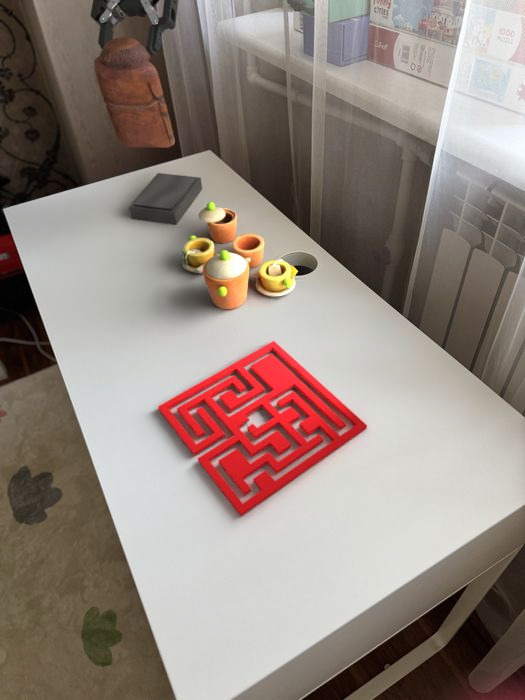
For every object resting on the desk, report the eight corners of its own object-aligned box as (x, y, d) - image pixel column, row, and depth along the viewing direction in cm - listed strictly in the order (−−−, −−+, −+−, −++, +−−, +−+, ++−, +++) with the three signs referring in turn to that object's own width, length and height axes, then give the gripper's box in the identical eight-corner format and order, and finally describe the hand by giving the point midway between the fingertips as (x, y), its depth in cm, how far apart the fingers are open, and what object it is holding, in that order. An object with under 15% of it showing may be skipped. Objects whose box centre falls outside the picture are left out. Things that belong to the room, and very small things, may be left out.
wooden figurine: (182, 129, 100) (158, 28, 86) (174, 150, 97) (148, 49, 82) (123, 129, 102) (89, 30, 87) (113, 149, 99) (76, 50, 84)
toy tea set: (308, 291, 90) (308, 243, 83) (226, 327, 85) (219, 279, 78) (233, 221, 106) (228, 175, 99) (161, 247, 101) (151, 202, 94)
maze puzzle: (158, 409, 74) (157, 406, 73) (274, 343, 81) (273, 340, 81) (241, 516, 62) (240, 514, 62) (366, 428, 70) (367, 425, 69)
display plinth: (131, 218, 108) (127, 205, 106) (160, 184, 117) (157, 171, 115) (176, 224, 106) (174, 211, 104) (202, 189, 115) (200, 176, 113)
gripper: (91, -68, 84) (76, 37, 85) (174, -69, 81) (157, 41, 82) (116, -35, 92) (101, 61, 93) (192, -35, 88) (177, 65, 89)
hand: (127, 51), depth 87 cm, fingers closed on wooden figurine, 8 cm apart
